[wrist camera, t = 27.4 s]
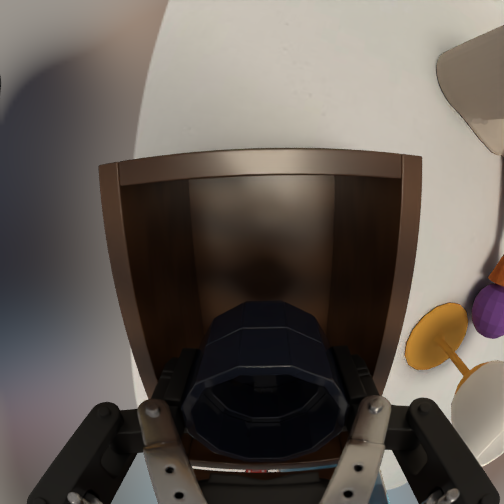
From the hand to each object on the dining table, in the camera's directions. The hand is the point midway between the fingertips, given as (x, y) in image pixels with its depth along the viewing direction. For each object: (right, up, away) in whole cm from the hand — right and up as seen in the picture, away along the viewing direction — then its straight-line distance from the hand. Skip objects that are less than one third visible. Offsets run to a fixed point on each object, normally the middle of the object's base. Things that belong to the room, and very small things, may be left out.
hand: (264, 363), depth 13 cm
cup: (+20, -4, +13) cm, 24 cm away
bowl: (0, 0, +1) cm, 1 cm away
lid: (0, -12, -8) cm, 14 cm away
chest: (0, +3, +11) cm, 12 cm away
